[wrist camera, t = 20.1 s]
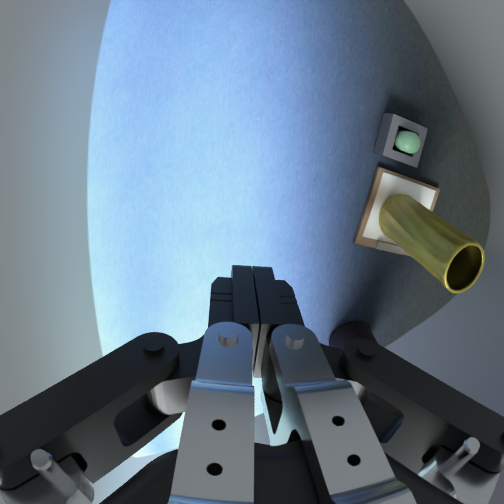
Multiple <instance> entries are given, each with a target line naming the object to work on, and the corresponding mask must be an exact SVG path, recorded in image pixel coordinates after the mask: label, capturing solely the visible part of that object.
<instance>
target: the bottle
mask: <svg viewBox="0 0 504 504" xmlns="http://www.w3.org/2000/svg"><path fill="white" fill-rule="evenodd" d="M358 338H361V339H368V340H371V341H373V342H375V343H377V341H376V339H375V337H374V336H373V334H372V332H371V330H370V329H369V327H368V326H367V325H366V324H364V323H361V322H350V323H347V324H344V325H343V326H341V327H339V328H338V329H337V330H336V331H335V332H334V333H333V334H332V336H331V337H330V341H329V346H331V347H336V348H341V349H344V346H345V344H346V343H347V342H348V341H350V340H352V339H358ZM377 344H378V343H377ZM368 398H369V399H370V400H372V401H373V402H375V403H376V404H378V405H379V406H381V407H382V408H384V409H386V410H387V411H389V412H390V413H392V414H393V415H395V416H397V417H399V418H404V415H403V413H402V411H401V410H399V409H398V408H397V407H395V406H393V405H392V404H390V403H389V402H387V401H385V400H384V399H382V398H381V397H379V396H378V395H376V394H375V393H373V392H371V393H370V395H369V397H368Z"/></svg>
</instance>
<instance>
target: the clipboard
mask: <svg viewBox="0 0 504 504" xmlns="http://www.w3.org/2000/svg"><path fill="white" fill-rule="evenodd" d="M439 191H440V189H438V188H436V187H433V186H431V185H428V184H425V183H423V182H420V181H418V180H415V179H412V178H409V177H407V176H404V175H401V174H398V173H395V172H393V171H390V170H387V169H384V168H381V167H378V166H377V168H376V172H375V175H374V179H373V182H372V185H371V189H370V192H369V195H368V198H367V201H366V205H365V208H364V211H363V214H362V217H361V220H360V223H359V226H358V229H357V232H356V235H355V238H354V240H353V243H354V244H357V245H362V246H367V247H372V248H376V249H378V250H383V251H388V252H392V253H397V254H401V255H408V256H410V255H409V254H408V253H407V252H406V251H404V250H403V249H402V248H401V247H400V246H398V245H397V244H396V243H395V242H394V241H393V240H392V239H389V238H387V237H386V236H385V235H384V234H383V233H382V231H381V229H380V226H379V215H380V211H381V209H382V207H383V206H384V204H385V203H386V201H387V200H388V199H390V198H391V197H393V196H395V195H397V194H407V195H410V196H411V197H412V198H413V199H415V200H416V201H417V202H419V203H420V204H422V205H423V206H425V207H426V208H427V209H429V210H430V211H432V212H433V209H434V206H435V203H436V200H437V197H438V194H439Z"/></svg>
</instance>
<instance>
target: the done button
mask: <svg viewBox="0 0 504 504" xmlns="http://www.w3.org/2000/svg"><path fill="white" fill-rule="evenodd" d="M419 147H420V139H419V137H418V135H417V134H415V133H413V132H408V131H403V130H397V134H396V137H395V141H394V145H393V148H395V149H398V150H401V151H404V152H408V153H415V152H417V151H418V149H419Z"/></svg>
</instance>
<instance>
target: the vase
mask: <svg viewBox="0 0 504 504" xmlns="http://www.w3.org/2000/svg"><path fill="white" fill-rule="evenodd" d="M379 226H380V229H381V231H382V233H383V234H384V235H385V236H386V237H387V238H389V239H392V240H393V241H394V242H395V243H396V244H397V245H398V246H400V247H401V248H402V249H403V250H404V251H406V252H407V253H408V254H409V255H410V256H412V257H413V258H414V259H415V260H416V261H417V262H419V263H420V264H421V265H422V266H423V267H424V268H426V269H427V270H428V271H429V272H430V273H431V274H432V275H434V276H435V277H436V278H437V279H438V280H439V281H440V282H441V283H442V284H443V285H444V286H445V287H446V288H447V289H448V290H449V291H450V292H453V293H460V292H463V291H465V290H467V289H468V288H470V287H471V286H472V285H473V284H474V283H475V281H476V280H477V279H478V277H479V275H480V274H481V271H482V269H483V266H484V261H485V257H484V250H483V248H482V247H481V245H480V244H478V243H477V242H476V241H474V240H473V239H471V238H470V237H468V236H467V235H466V234H464V233H463V232H461V231H460V230H458V229H457V228H455V227H454V226H452V225H451V224H449V223H448V222H446V221H445V220H443V219H442V218H440V217H439V216H438V215H436V214H435V213H433V212H432V211H430V210H429V209H427V208H426V207H425V206H423V205H422V204H420V203H419V202H417V201H416V200H415V199H413V198H412V197H411V196H410V195H407V194H397V195H395V196H393V197H391V198H390V199H388V200H387V201H386V203H385V204H384V206H383V207H382V209H381V211H380V215H379Z"/></svg>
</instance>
